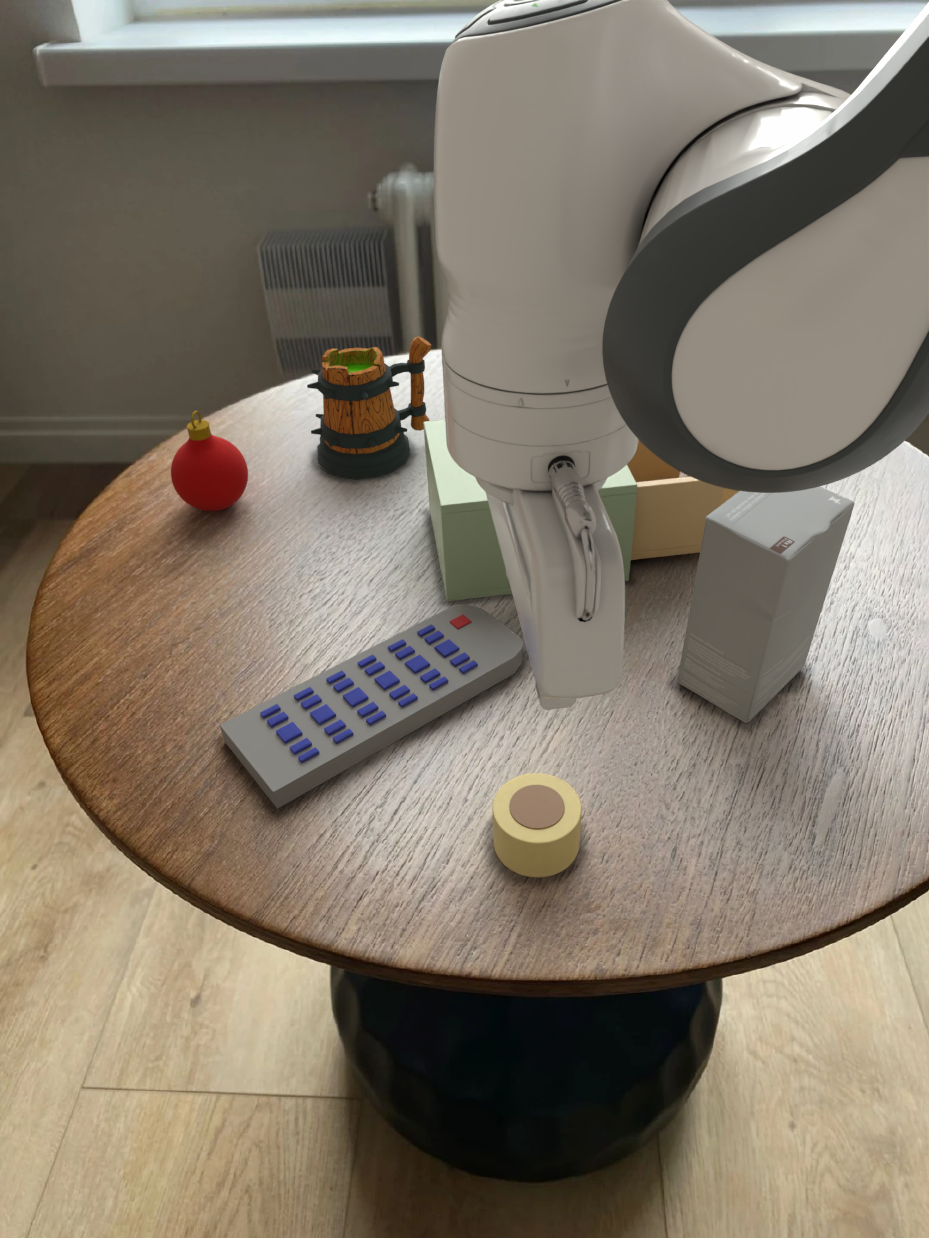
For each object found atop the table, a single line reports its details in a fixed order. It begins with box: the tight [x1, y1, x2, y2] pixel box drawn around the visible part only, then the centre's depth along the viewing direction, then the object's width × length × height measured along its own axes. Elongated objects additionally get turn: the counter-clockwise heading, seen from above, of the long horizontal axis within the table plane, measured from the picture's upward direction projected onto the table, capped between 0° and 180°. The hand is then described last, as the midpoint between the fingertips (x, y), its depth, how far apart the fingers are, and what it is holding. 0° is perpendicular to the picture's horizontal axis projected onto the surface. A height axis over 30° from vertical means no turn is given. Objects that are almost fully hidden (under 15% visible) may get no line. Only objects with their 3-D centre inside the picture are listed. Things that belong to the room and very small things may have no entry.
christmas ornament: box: [170, 410, 249, 512], centre depth 90 cm, size 7×7×10 cm
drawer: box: [627, 440, 739, 561], centre depth 84 cm, size 19×12×8 cm, turn 98°
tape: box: [491, 772, 583, 878], centre depth 61 cm, size 6×6×4 cm
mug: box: [306, 336, 432, 480], centre depth 96 cm, size 13×10×12 cm
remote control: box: [219, 603, 524, 809], centre depth 71 cm, size 8×23×2 cm, turn 127°
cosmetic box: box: [676, 486, 855, 724], centre depth 67 cm, size 8×7×16 cm
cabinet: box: [423, 419, 637, 602], centre depth 83 cm, size 16×14×10 cm
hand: (537, 638), depth 52 cm, fingers open, 8 cm apart
